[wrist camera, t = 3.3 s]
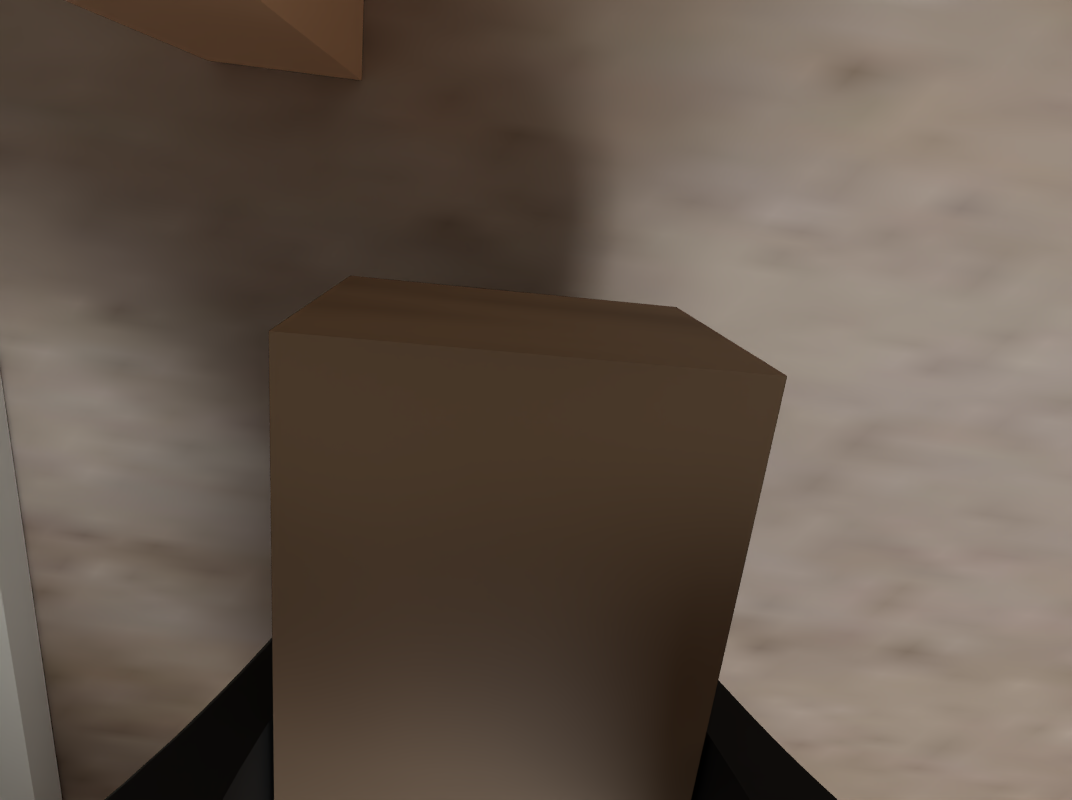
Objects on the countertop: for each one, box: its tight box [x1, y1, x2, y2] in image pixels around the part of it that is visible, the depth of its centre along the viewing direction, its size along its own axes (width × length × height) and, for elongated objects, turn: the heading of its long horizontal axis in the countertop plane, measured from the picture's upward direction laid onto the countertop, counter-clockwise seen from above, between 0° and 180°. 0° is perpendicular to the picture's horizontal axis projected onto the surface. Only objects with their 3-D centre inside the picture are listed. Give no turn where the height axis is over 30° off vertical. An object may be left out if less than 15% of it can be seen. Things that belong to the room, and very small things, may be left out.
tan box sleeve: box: [269, 276, 787, 800], centre depth 10 cm, size 12×5×4 cm, turn 174°
